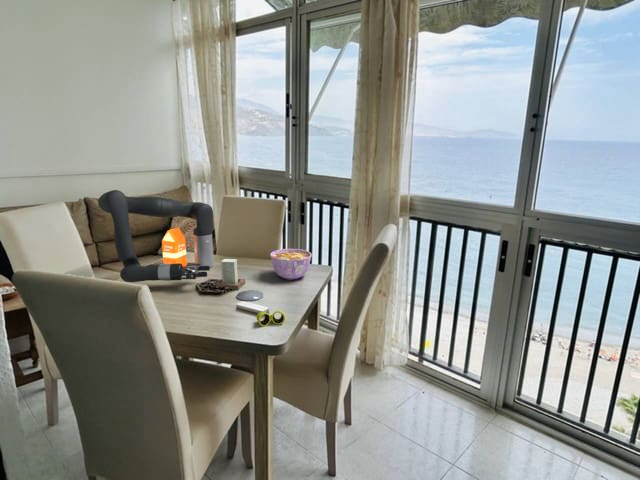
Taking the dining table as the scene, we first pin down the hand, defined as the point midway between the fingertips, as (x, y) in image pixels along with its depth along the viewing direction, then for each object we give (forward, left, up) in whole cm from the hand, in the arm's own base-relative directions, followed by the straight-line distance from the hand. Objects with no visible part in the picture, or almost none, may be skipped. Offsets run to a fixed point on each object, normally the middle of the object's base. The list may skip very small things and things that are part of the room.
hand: (208, 271), depth 176 cm
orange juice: (-23, -29, -8) cm, 38 cm away
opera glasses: (+29, +38, -8) cm, 48 cm away
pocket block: (-3, +9, -7) cm, 12 cm away
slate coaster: (+7, +22, -7) cm, 24 cm away
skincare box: (-3, +9, -8) cm, 12 cm away
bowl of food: (-21, +33, -8) cm, 40 cm away
